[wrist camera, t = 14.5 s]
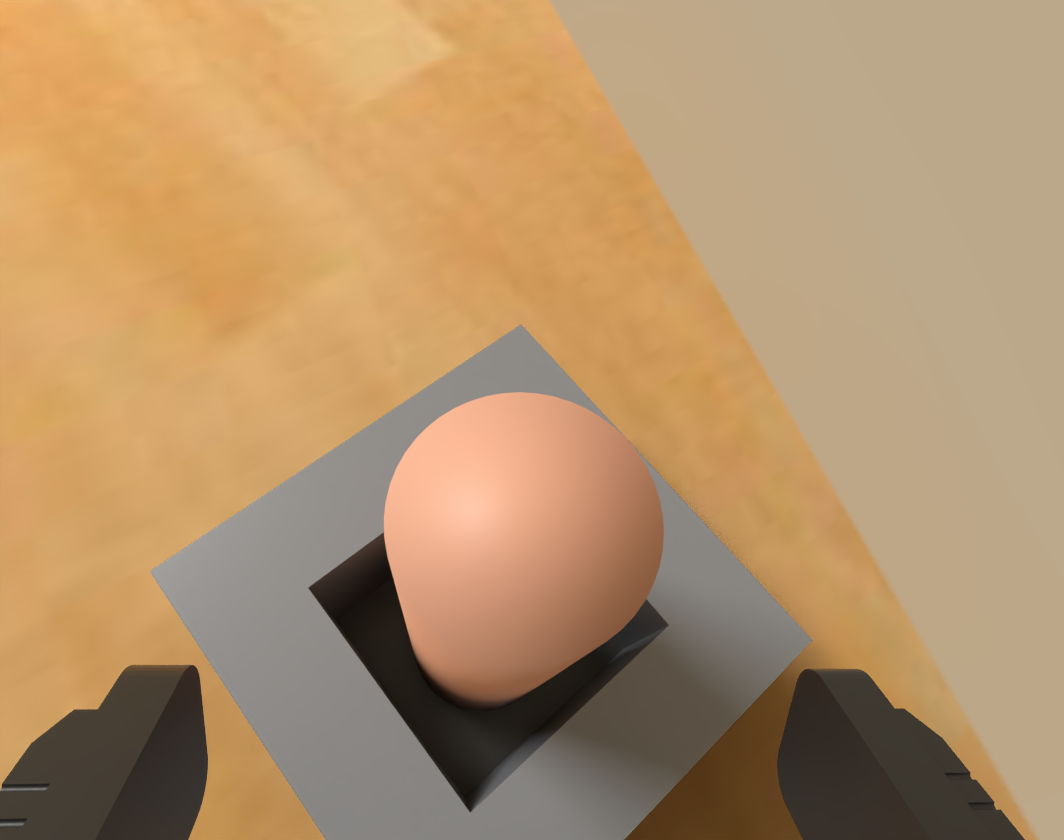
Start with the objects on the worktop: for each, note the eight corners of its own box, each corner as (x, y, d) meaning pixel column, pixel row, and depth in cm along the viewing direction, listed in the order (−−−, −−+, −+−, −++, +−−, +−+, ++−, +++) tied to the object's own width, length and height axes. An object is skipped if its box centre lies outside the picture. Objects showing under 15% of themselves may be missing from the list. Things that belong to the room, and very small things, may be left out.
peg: (470, 743, 20) (508, 734, 9) (385, 627, 21) (325, 495, 10) (577, 646, 21) (719, 539, 10) (492, 543, 22) (541, 347, 11)
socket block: (446, 954, 18) (447, 1026, 13) (214, 608, 21) (149, 571, 16) (735, 661, 22) (812, 640, 17) (506, 401, 24) (521, 324, 20)
